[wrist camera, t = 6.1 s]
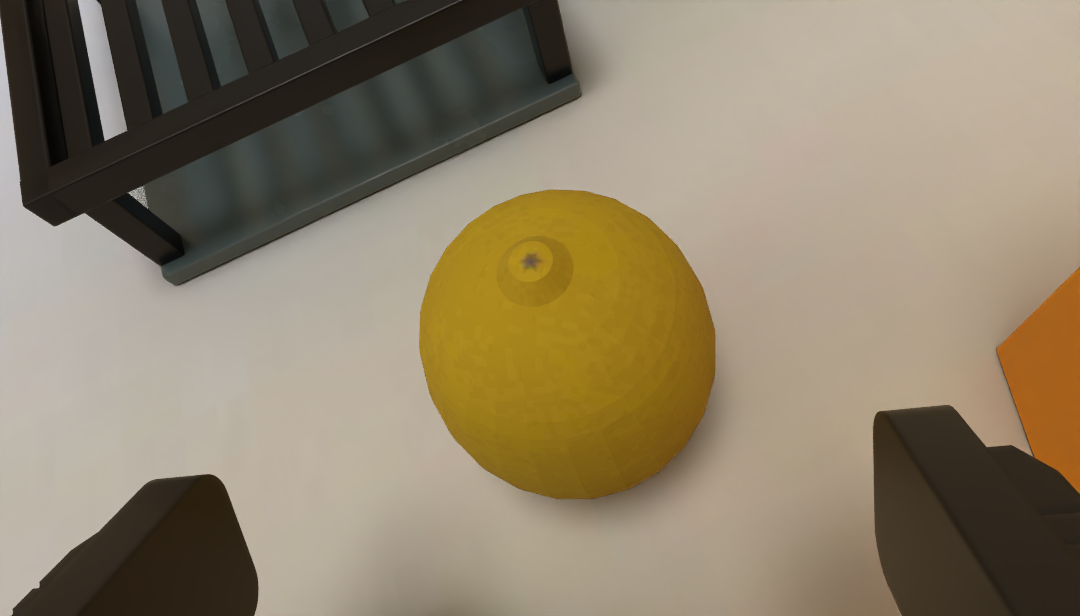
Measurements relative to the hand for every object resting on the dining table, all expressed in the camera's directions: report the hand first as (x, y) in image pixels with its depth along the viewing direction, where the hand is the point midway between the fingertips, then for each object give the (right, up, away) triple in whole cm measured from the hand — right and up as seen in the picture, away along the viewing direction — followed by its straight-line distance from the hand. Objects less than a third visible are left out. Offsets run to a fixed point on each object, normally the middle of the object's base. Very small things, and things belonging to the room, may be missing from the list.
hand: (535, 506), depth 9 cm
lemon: (+1, 0, +9) cm, 10 cm away
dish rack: (-7, +11, +16) cm, 20 cm away
